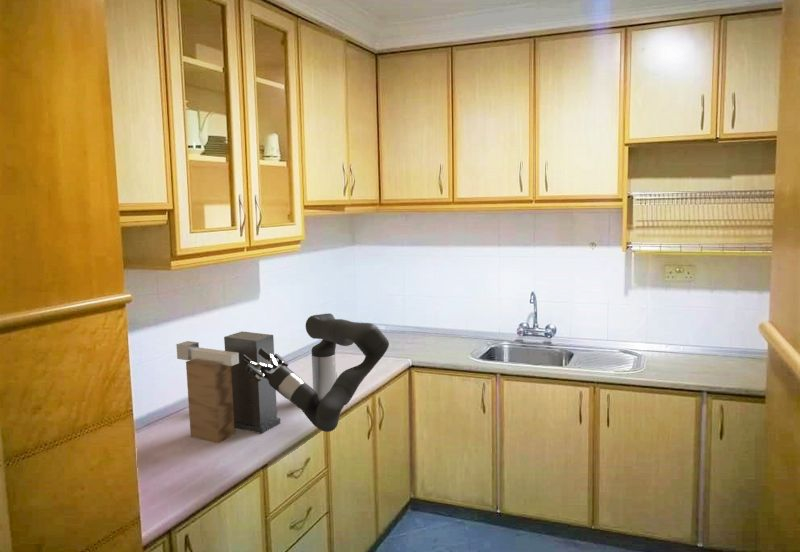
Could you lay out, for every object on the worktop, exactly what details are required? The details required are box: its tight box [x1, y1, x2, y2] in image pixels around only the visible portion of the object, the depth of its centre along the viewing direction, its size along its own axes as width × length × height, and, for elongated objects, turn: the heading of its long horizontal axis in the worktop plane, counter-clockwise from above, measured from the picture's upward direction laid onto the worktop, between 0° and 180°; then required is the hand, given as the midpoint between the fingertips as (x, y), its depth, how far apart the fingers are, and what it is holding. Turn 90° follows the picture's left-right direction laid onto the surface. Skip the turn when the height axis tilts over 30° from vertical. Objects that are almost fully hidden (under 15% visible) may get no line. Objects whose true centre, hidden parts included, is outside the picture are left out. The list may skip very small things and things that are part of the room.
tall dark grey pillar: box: [223, 330, 281, 434], centre depth 219 cm, size 10×16×32 cm, turn 63°
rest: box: [185, 360, 236, 444], centre depth 210 cm, size 8×12×26 cm, turn 63°
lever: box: [175, 340, 239, 366], centre depth 208 cm, size 5×23×5 cm, turn 63°
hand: (250, 353), depth 199 cm, fingers open, 8 cm apart
